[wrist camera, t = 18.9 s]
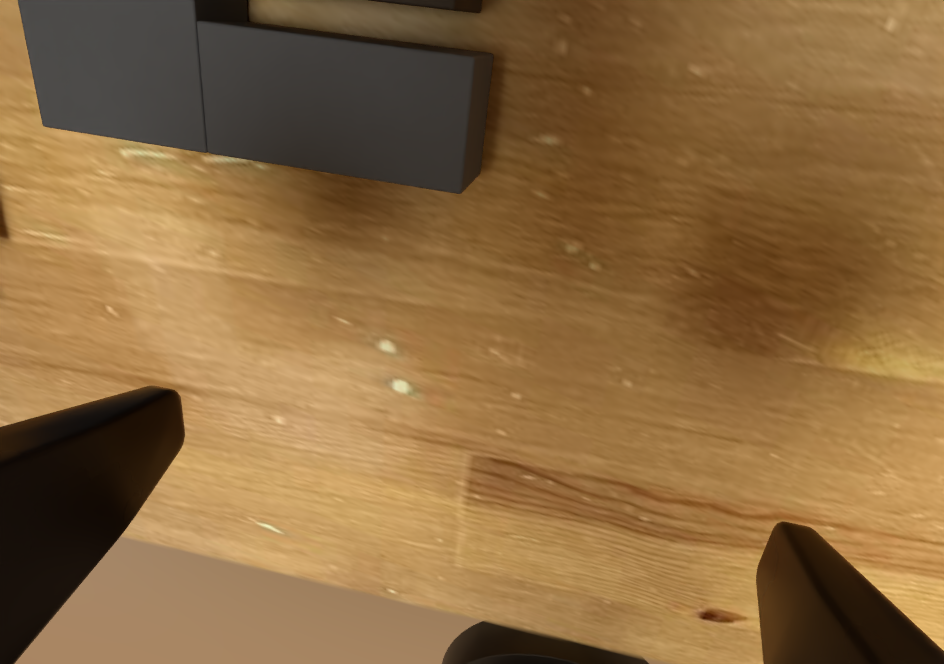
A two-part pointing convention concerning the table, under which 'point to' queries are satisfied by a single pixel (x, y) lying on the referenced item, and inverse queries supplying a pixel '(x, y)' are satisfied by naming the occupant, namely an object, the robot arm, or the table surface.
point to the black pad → (442, 4)
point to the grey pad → (259, 89)
